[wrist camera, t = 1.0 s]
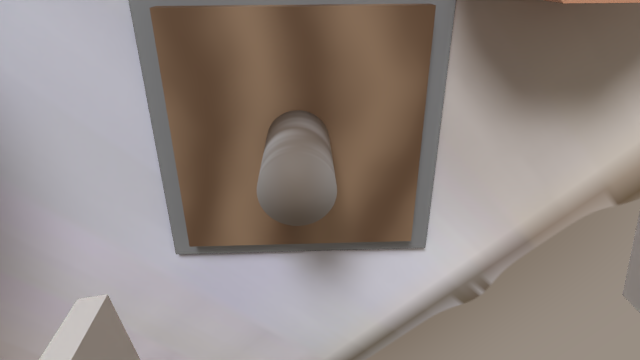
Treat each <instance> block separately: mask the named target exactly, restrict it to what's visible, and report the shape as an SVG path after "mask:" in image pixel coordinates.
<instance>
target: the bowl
mask: <svg viewBox="0 0 640 360" xmlns="http://www.w3.org/2000/svg"><path fill="white" fill-rule="evenodd" d="M545 1H551V2H558V3H640V0H545Z"/></svg>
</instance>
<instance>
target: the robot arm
mask: <svg viewBox="0 0 640 360" xmlns="http://www.w3.org/2000/svg"><path fill="white" fill-rule="evenodd" d="M623 296H624V297H625V298H626V299H627V300H628V301H629V302H630V303H631V304H632V305H633V306H634V307H635V308H636V309H637V310H638V311H639V312H640V213H639V217H638V222H637V227H636V232H635V237H634V242H633V247H632V251H631V256H630V261H629V266H628V271H627V276H626V280H625V285H624V290H623ZM39 360H140V358H139V356H138V354H137V352H136V350H135V348H134V346H133V344H132V342H131V340H130V338H129V336H128V334H127V332H126V330H125V328H124V326H123V324H122V322H121V320H120V318H119V316H118V314H117V312H116V310H115V308H114V306H113V304H112V302H111V300H110V298H109V296H108V294H107V295H101V296H95V297H88V298H82V299H77V301H76V302H75V304H74V305H73V307H72V309H71V310H70V312H69V313H68V315H67V316H66V318H65V320H64V321H63V323H62V324H61V326H60V327H59V329H58V331H57V332H56V334H55V335H54V337H53V338H52V340H51V342H50V343H49V345H48V346H47V348H46V350H45V351H44V353H43V354H42V356H41V357H40V359H39Z"/></svg>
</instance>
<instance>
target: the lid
mask: <svg viewBox="0 0 640 360" xmlns="http://www.w3.org/2000/svg"><path fill="white" fill-rule="evenodd" d="M435 10H436V5H433V4H319V5H203V6H154V7H151V8H150V14H151V20H152V26H153V32H154V38H155V44H156V50H157V56H158V62H159V68H160V74H161V80H162V86H163V92H164V97H165V103H166V109H167V115H168V121H169V127H170V133H171V139H172V145H173V151H174V157H175V163H176V169H177V175H178V181H179V187H180V193H181V199H182V205H183V211H184V217H185V223H186V229H187V234H188V240H189V246H190V247H195V246H235V245H274V244H314V243H353V242H393V241H411V236H412V227H413V218H414V208H415V199H416V189H417V180H418V171H419V161H420V152H421V142H422V133H423V123H424V114H425V105H426V95H427V86H428V76H429V67H430V58H431V48H432V39H433V29H434V20H435Z"/></svg>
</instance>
